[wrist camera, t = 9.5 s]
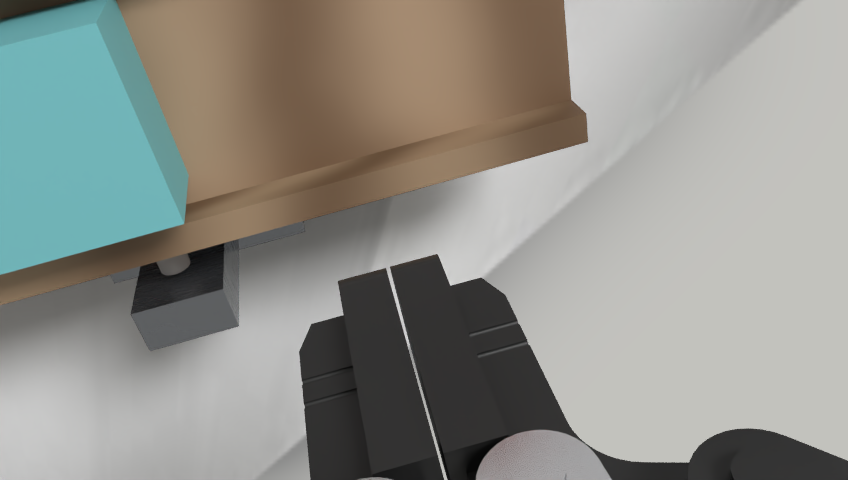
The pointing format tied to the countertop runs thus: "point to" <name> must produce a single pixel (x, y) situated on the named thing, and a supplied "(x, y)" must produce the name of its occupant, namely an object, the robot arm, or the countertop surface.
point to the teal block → (80, 137)
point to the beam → (328, 109)
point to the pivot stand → (193, 292)
